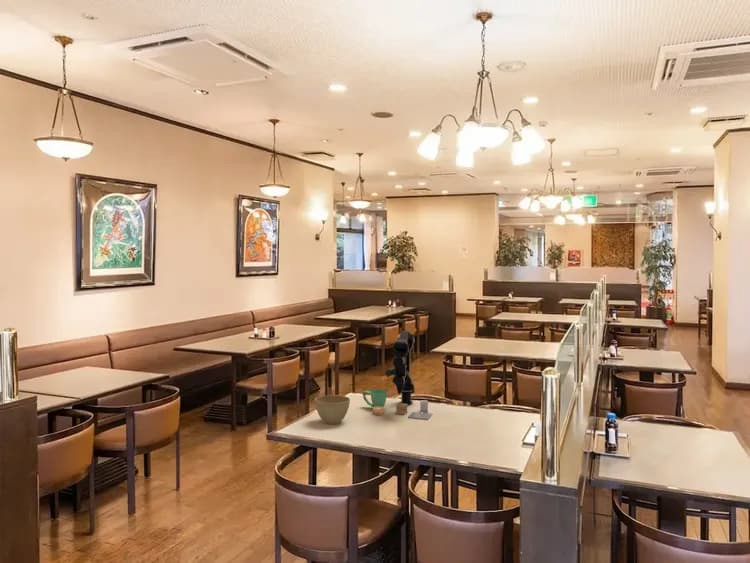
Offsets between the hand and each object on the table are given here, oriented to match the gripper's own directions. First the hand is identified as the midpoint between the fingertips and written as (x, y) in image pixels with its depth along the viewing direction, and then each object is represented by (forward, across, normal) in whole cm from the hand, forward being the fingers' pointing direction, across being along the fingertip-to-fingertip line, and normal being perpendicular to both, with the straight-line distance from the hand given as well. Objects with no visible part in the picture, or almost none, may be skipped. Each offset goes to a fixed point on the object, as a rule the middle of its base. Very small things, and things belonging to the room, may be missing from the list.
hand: (400, 392), depth 313 cm
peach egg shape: (+12, +4, -12) cm, 17 cm away
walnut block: (+12, 0, +1) cm, 12 cm away
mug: (+12, -6, -16) cm, 21 cm away
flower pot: (+12, +25, -32) cm, 42 cm away
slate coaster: (+12, +4, +11) cm, 17 cm away
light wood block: (+12, -6, +12) cm, 18 cm away
